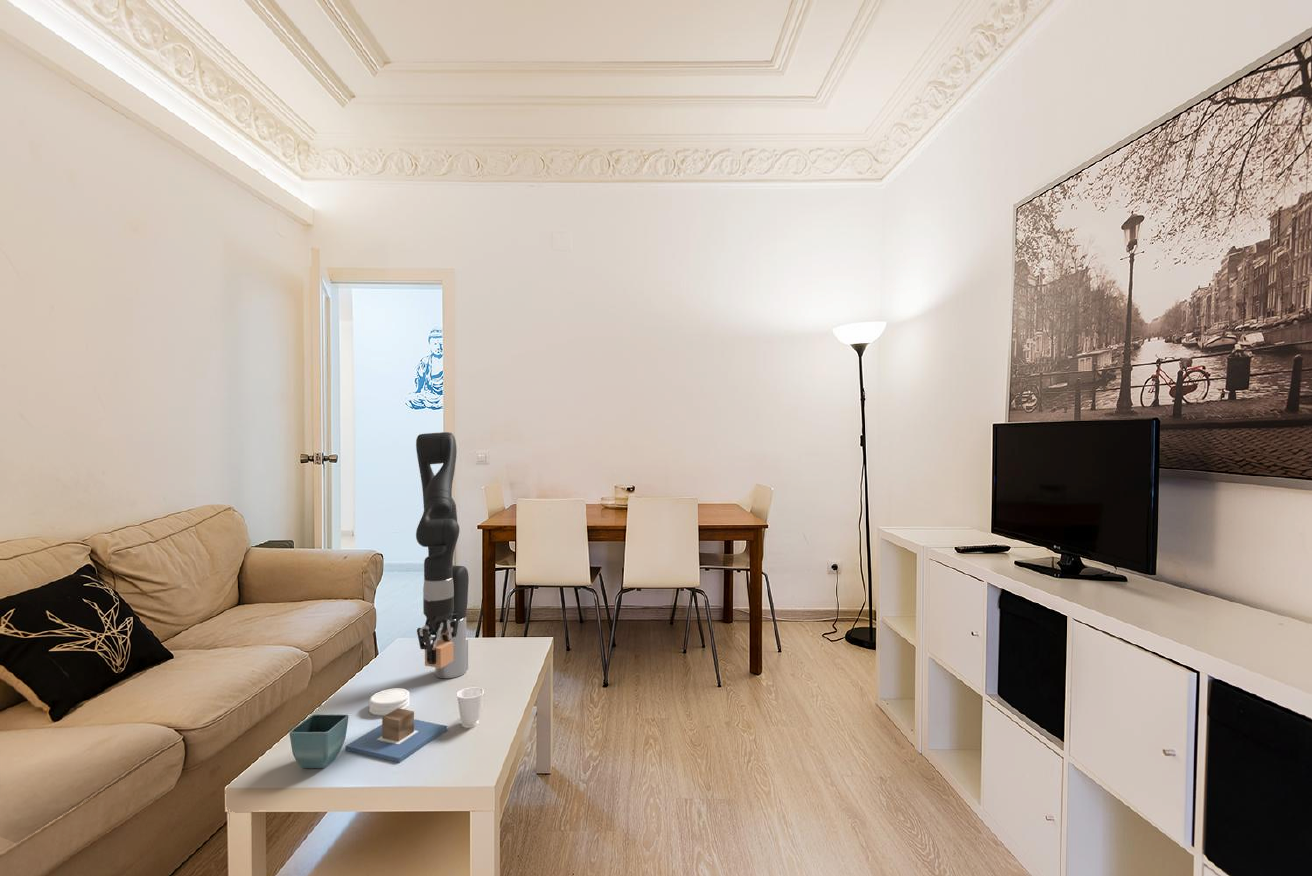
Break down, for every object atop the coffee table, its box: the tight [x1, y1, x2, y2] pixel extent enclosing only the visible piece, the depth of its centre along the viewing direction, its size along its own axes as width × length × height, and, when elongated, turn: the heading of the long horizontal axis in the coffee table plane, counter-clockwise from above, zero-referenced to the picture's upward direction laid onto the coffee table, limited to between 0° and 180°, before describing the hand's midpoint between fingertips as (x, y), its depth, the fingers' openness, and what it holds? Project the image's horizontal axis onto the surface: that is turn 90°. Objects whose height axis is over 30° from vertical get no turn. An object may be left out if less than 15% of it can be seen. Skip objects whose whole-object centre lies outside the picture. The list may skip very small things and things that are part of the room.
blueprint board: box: [344, 718, 448, 764], centre depth 144 cm, size 16×16×1 cm
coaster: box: [368, 687, 411, 717], centre depth 162 cm, size 10×10×4 cm
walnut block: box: [381, 708, 415, 742], centre depth 144 cm, size 5×5×5 cm
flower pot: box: [288, 713, 350, 769], centre depth 134 cm, size 9×9×9 cm
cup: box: [456, 686, 485, 729], centre depth 154 cm, size 7×10×8 cm
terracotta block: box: [424, 640, 453, 668], centre depth 156 cm, size 5×5×5 cm
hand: (439, 659), depth 156 cm, fingers closed on terracotta block, 5 cm apart
